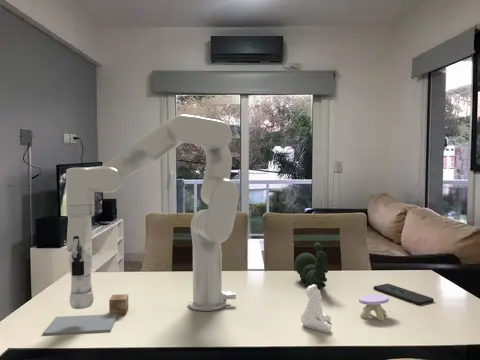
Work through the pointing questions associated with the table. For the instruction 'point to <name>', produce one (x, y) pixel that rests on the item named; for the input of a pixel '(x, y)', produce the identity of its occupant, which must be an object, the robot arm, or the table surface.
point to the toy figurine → (312, 267)
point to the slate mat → (81, 324)
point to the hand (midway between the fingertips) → (81, 271)
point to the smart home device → (404, 294)
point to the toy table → (373, 305)
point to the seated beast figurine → (315, 311)
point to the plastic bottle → (82, 284)
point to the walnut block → (118, 304)
